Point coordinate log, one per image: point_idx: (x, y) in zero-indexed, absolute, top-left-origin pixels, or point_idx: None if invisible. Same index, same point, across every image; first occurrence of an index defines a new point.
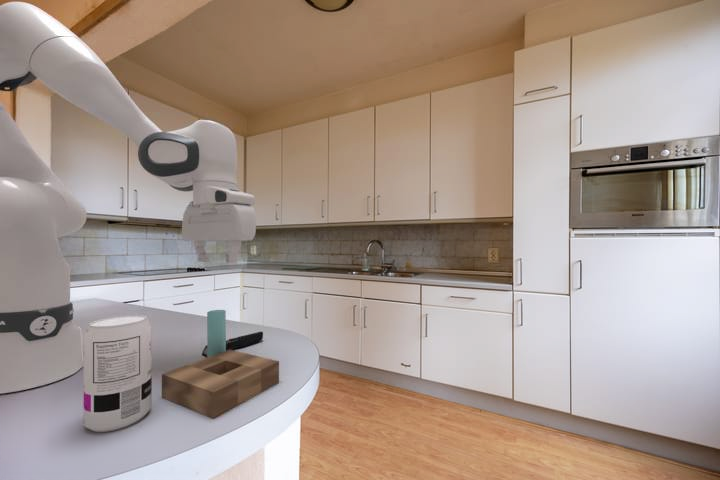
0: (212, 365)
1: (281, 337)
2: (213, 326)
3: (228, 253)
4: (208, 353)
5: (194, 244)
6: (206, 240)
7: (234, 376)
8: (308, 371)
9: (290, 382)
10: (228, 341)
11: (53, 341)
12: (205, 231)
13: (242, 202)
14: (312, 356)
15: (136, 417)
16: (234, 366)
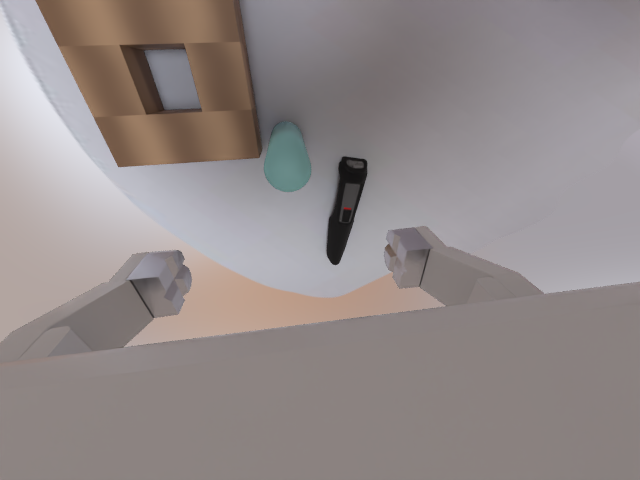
0: (192, 74)
1: (316, 278)
2: (272, 142)
3: (121, 284)
4: (286, 126)
5: (520, 284)
6: (343, 319)
7: (90, 59)
8: (147, 210)
9: None
10: (346, 206)
11: None
12: (371, 422)
13: None
14: (200, 251)
15: None
16: (177, 112)
